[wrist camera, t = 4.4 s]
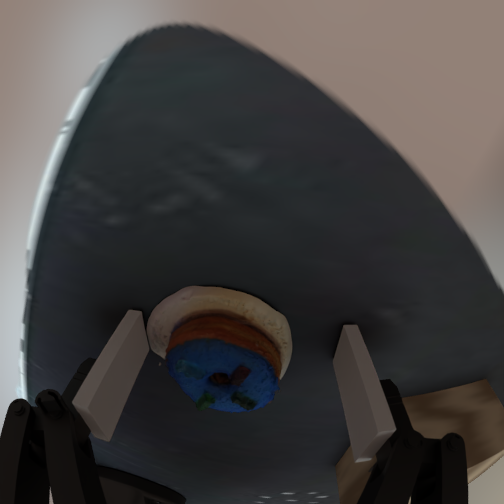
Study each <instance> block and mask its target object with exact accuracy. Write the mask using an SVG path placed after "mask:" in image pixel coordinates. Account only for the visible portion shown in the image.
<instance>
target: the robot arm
mask: <svg viewBox="0 0 504 504" xmlns="http://www.w3.org/2000/svg"><path fill="white" fill-rule="evenodd" d="M148 351H149V345H148V340H147V336H146V331H145V326H144V321H143V316H142V311H135V310H128V312H127V313H126V315H125V316H124V318H123V319H122V321H121V322H120V324H119V325H118V327H117V328H116V330H115V332H114V333H113V335H112V336H111V338H110V339H109V341H108V343H107V344H106V346H105V347H104V349H103V351H102V352H101V354H100V355H99V357H98V359H97V360H96V359H92V358H88V359H87V360H86V361H84V362H83V363H82V364H81V365H80V367H79V368H78V370H77V373H75V375H74V376H73V379H71V381H70V383H69V384H68V386H67V388H66V389H65V391H64V393H63V394H62V396H61V395H60V394H59V393H58V392H57V391H55V390H53V389H47V390H43V391H42V392H40V393H39V394H38V395H37V397H36V399H35V403H36V405H37V406H38V407H33V406H31V405H30V404H29V403H28V402H27V401H26V400H25V399H16V400H14V401H13V402H12V403H11V404H10V406H9V408H8V411H7V414H6V418H5V421H4V425H3V428H2V432H1V436H0V504H49V495H50V488H51V493H52V498H53V503H54V504H185V502H186V500H185V498H184V497H182V496H181V495H179V494H177V493H176V492H174V491H172V490H169V489H167V488H165V487H162V486H160V485H157V484H155V483H152V482H150V481H147V480H144V479H141V478H139V477H136V476H133V475H130V474H127V473H123V472H120V471H117V470H113V469H109V468H105V467H96V463H95V459H94V454H93V450H92V445H91V441H90V438H89V437H88V436H89V434H90V432H92V433H93V435H94V436H95V437H96V438H99V439H102V440H105V441H108V442H110V440H111V437H112V435H113V432H114V430H115V427H116V425H117V422H118V420H119V418H120V415H121V413H122V410H123V408H124V406H125V403H126V401H127V399H128V396H129V394H130V392H131V389H132V387H133V385H134V383H135V380H136V378H137V376H138V373H139V371H140V369H141V367H142V365H143V362H144V360H145V358H146V356H147V354H148ZM333 366H334V370H335V375H336V379H337V383H338V387H339V391H340V396H341V400H342V404H343V409H344V413H345V418H346V423H347V427H348V432H349V437H350V442H351V447H352V452H353V457H354V462H355V463H356V462H362V461H369V460H371V459H372V458H373V457H374V456H375V455H376V458H377V462H376V463H375V464H374V465H373V466H372V467H371V468H370V470H369V471H368V472H371V471H372V472H371V474H370V477H369V479H368V481H367V483H366V485H365V488H364V490H363V492H362V494H361V496H360V498H359V500H358V502H357V504H408V503H409V500H410V497H411V502H410V504H468V473H467V459H466V449H465V442H464V439H463V438H462V437H461V436H460V435H459V434H457V433H453V432H452V433H447V434H446V435H445V436H443V438H442V439H434V438H425V437H424V436H423V435H422V434H421V433H419V432H417V431H415V430H414V429H413V427H412V424H411V422H410V419H409V416H408V414H407V411H406V408H405V406H404V404H403V401H402V398H401V397H400V393H399V391H398V388H397V386H396V385H395V384H394V383H393V382H392V381H391V380H390V379H386V380H379V379H378V376H377V373H376V371H375V368H374V365H373V363H372V360H371V358H370V355H369V353H368V350H367V348H366V345H365V343H364V340H363V338H362V335H361V333H360V331H359V328H358V326H357V325H343V329H342V332H341V336H340V339H339V343H338V346H337V349H336V352H335V356H334V359H333Z"/></svg>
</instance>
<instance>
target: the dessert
mask: <svg viewBox="0 0 504 504" xmlns="http://www.w3.org/2000/svg"><path fill="white" fill-rule="evenodd" d="M147 336H148V340H149V344H150V347H151V349H152V350H153V352H155V353H156V354H158V355H160V356H161V357H162V358H164V359H165V363H166V367H167V368H168V371H169V372H168V373H169V375H170V376H171V377H172V378H174V379H175V381H176V382H177V383H178V384H179V386H180V387H181V389H182V390H183V391H184V392H185V393H186V394H187V395H189V396H190V397H191V399H192V400H193V402H195V403H196V407H197V409H198V411H202V410H205V409H206V408H212V409H216V410H220V411H227V412H231V413H232V412H237V413H239V412H242V411H248V412H249V411H251V410H256V409H258V408H261V407H262V408H263V407H264V406H265V405H266V404H267V403H271V401H272V400H273V399H274V395H275V394H274V393H275V391H276V390H277V389H278V392H279V393H280V392H281V391H279V390H280V388H279V387H278V384H279V381H280V380H281V378H282V377H283V375H284V373H285V372H286V369H287V367H288V365H289V362H290V359H291V354H292V339H291V332H290V327H289V324H288V322H287V319H286V318H285V316H284V315H282V314H281V313H279V312H277V311H275V310H274V309H273V308H271V307H270V306H269V305H268V304H266V303H264V302H263V301H261V300H260V299H258V298H256V297H253V296H252V295H248V294H246V293H244V292H239V291H234V290H229V289H225V288H221V287H211V286H210V287H202V286H188V287H185V288H183V289H180V290H179V291H178V292H176V293H175V294H172V295H171V296H168V297H167V298H165V299H164V300H163V301H162V302H160V304H158V305H157V306H156V307H155V308H154V310H153V311H152V313H151V316H150V317H149V319H148V323H147ZM160 365H161V364H159V366H160Z"/></svg>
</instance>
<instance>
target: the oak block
mask: <svg viewBox="0 0 504 504" xmlns="http://www.w3.org/2000/svg"><path fill="white" fill-rule="evenodd" d="M402 401H403V404H404V406H405V408H406V411H407V414H408V416H409V419H410V422H411V424H412V427H413V429H414V430H415V431H417V432H419V433H421V434H422V435H423V436H424V437H425V438H434V439H442V438H443V436H445V435H446V434H447V433H452V432H453V433H457V434H459V435H460V436H461V437H462V438H463V439H464V442H465V449H466V459H467V473H468V484H469V483H470V482H472V481H473V480H474V479H476V478H477V477H478V476H480V475H481V474H482V473H484V472H485V471H486V470H487V469H488V468H489V467H491V466H492V465H493V464H494V463H496V462H497V461H498V460H499V459H500V458H501V457H502V456H503V455H504V408H503V406H502V404H501V403H500V401H499V399H498V397H497V396H496V394H495V392H494V391H493V389H492V388H491V386H490V384H489V383H488V381H487V380H486V379H484V380H480V381H477V382H473V383H470V384H466V385H462V386H458V387H454V388H450V389H446V390H442V391H437V392H432V393H427V394H422V395H417V396H411V397H405V398H402ZM376 462H377V458H376V455H375V456H374V457H373V458H372V459H371V460H369V461H362V462H356V463H355V462H354V457H353V452H352V447H351V445H350V447H349V448H348V449H347V451H346V452H345V454H344V455H343V456H342V458H341V459H340V461H339V462H338V463H337V465H336V466H335V468H336V475H337V483H338V490H339V498H340V504H357V502H358V500H359V498H360V496H361V494H362V492H363V490H364V488H365V485H366V483H367V481H368V479H369V477H370V474H371V472H372V471H371V472H368V471H369V470H370V468H371V467H372V466H373V465H374V464H375V463H376ZM410 502H411V497H410V500H409V503H408V504H410Z"/></svg>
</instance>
